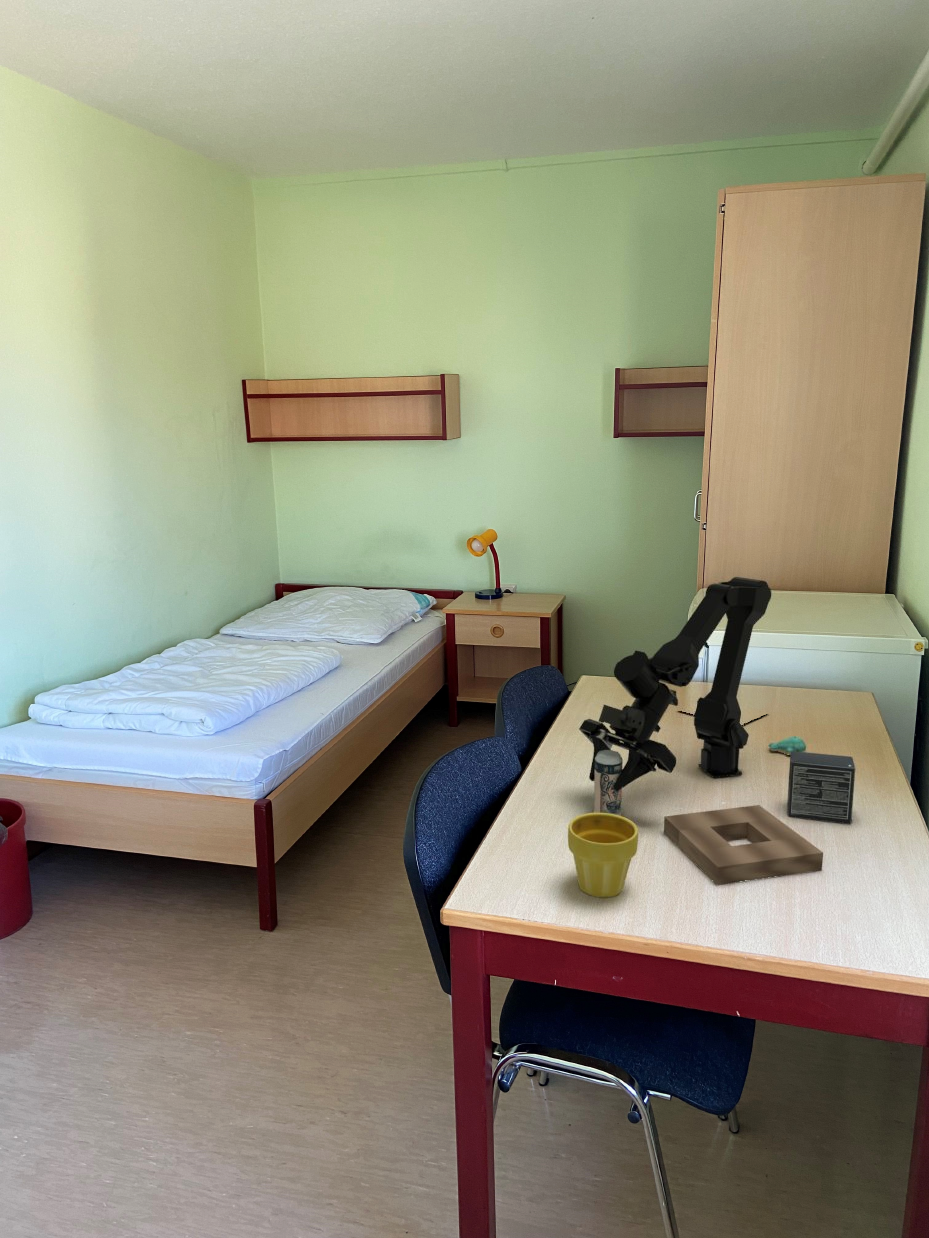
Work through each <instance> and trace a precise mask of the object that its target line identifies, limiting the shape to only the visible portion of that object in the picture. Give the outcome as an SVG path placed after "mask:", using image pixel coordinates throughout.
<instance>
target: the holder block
mask: <svg viewBox="0 0 929 1238" xmlns="http://www.w3.org/2000/svg"><path fill="white" fill-rule="evenodd" d="M663 834H664V835H666V837H668V839H670V840H671V842H672V843H673V844H675V846H677V847H678V849H679V850H680V851H682V852H683V853H684V854H685V855H686V857H688V858H689V859H690V860H691V861H692V862H693V863H694V864H695V865H696V866H697V867H698V868H699V869H700V870H701V871H702V872H703V873H704V874H705V875H706V876H707V877H708V878H709V879H710V880H711V881H712V880H713V881H712V882H713V883H714V882H715V883H714V885H716V886H721V885H728V883H729V884H734V883H735V882H736V883H741V882H740V881H743V882H746V881H745V880H750V881H756V880H755V879H757V880H762V878H764V879H769V878H768V877H771V878H776V877H775V876H778V877H784V876H791V875H792V876H793V875H798V874H799V875H800V874H804V873H805V874H806V873H813V872H821V871H823V860H824V851H822V850H820V849H819V848H818V847H817V846H815V845H814V844H812V843H811V842H810V841H809V840H807V839H806V838H805V837H803V836H801V835H800V834H799V833H797V832H796V831H795V830H794V829H792V828H791V827H789V825H787V824H786V823H784V822H783V821H781V820H780V819H779V818H777V817H776V816H775V815H774V814H772V813H771V812H770V811H768V809H765V808H764V807H762V806H761V805H760V804H756V805H755V804H754V805H747V806H738V807H730V808H723V809H714V810H707V811H698V812H689V813H682V814H673V815H665V816H664V818H663ZM745 839H747V841H749V842H750V843H744V844H737V845H731V844H730V843H729V841H737V840H745Z"/></svg>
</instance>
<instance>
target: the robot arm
mask: <svg viewBox="0 0 929 1238" xmlns="http://www.w3.org/2000/svg"><path fill="white" fill-rule="evenodd" d="M771 599H772V589H771V588H770V587H769V584H768V582H767V581H766V580H763V579H756V578H746V577H741V576H734V577H732V578H731V579H730V580H727V581H719V582H717V583H711V584H709V585H708V586H707V588H706V590H705V595H704V596H703V598H702V600H701V601H700V602H699V604H698V606H697V607H696V609H694V611H693V613H692V614H691V616H690V617H689V618H688V620H687V621H686V623H685V624H684V625H683V627H682V629H681V630H680V632H679V634H677V636H675V638H673V639H671V640H669V641H667V642H665V643H663V645H662V646H661V647H660V648H659V649H658V650H657V651H656V652H655V653H654V655H652V657H650V658H649V656H648V655H647V654H646V652H645V651H641V650H637V649H635V650H634V652H633V654H631V655H627V656H625V657H623V658H622V659H621V660H620V661H617V663H616V664H615V666H614V668H613V675H614V677H615V679H616V680H617V681H618V683H620V685H621V686H622V687H623V688H624V689H625V691H626V693H628V694H629V696H631V697H632V698H634V700H633V702H632V703H631V705H627V704H626V705H624V706H623V708H622V709H620V708H615V707H613V706H609V705H608V704H603V706H602V710H601V713H600V715H599V718H598V721H597V720H595V719H591V718H587V719H585V720H583V722H582V723H581V725H580V727H579V728H578V730H579V731H580V732H581V733H582V734H583V735H584V737H586V738H587V739H588V740H589V742H591V744H592V745H593V753H592V754H593V756H592V760H591V761H592V762H591V766H590V770H589V771H590V772H589V776H588V779H589V780H590V781H591V782H594V779H595V757H596V756H597V753H598V752H599V751H603V750H612V748H613V746H616V747H618V748H622V749H625V750H626V751H627V750H628V756H627V761H626V763H625V765H623V767H622V771H621V773H620V775H619V777H618V778H617V780H616V782H615V784H614V787H613V789H614V790H615V791H619V790H620V789H622V790H623V788H625V787H626V786H628V785H629V784H631V783H633V782H634V781H635V780H638V779H639V778H641V777H644V776H645V775H647V774H649V773H650V772H653V773H654V772H655V773H656V771H657V768H658V770H662V771H664V772H667V773H669V774H671V773H673V772H674V769H675V767H676V765H677V758H676V756H675V754H673V752H672V751H671V750H670V749H669V748H668V746H667V745H666V744H664V743H661V742H658V741H657V740H656V741H655V740H653V739H651V737H652V735H653V734H654V732H655V733H659V732H660V730H661V726H660V725H659V723H660V722H661V720H662V718H663V716H664V714H665V713H666V711H667V710H668V707H669V706H670V705H672V706H675V707H677V706H679V699H678V697H677V690H674V689H670V688H669V686H668V685H672V686H675V687H678V688H682V687H687V686H688V685H689V684H690V683H691V682H692V680H693V679H694V676H695V674H696V673H697V670H698V668H699V666H700V660H699V659H700V656H699V655H700V653H701V652H702V650H703V648H704V646H705V645H706V643H707V642H708V640H709V638H710V637H711V636H712V635H713V633H714V631H715V630H716V628H717V627H718V625H719V624H720V623H721V621H722V619H723V618H724V617H725V616H726V618H727V619H726V620H727V621H726V626H725V629H724V635H723V638H722V642H721V643H722V644H721V646H720V647H721V648H720V651H719V655H718V660H717V663H716V668H715V672H714V677H713V681H712V684H711V689H710V691H709V692H708V693H707V694H706V695H705V696H704V697H702V696H700V697H699V698H698V699H697V702H696V703H697V707H696V711H695V713H694V715H692V717H694V718H693V725H694V729H695V735H696V737H697V739H698V740H701V741H703V746H702V747H701V750H700V763H699V764H698V768H699V769H700V770H703V772H705V773H706V774H708V775H709V776H711V778H713V779H716V778H726V777H733V776H734V777H735V776H741V775H743V771H742V770H740V769H739V761H740V759H739V758H740V750H743V749H744V746H746V745H747V744H748V739H749V735H750V734H749V733H748V732H747V731H746V729H745V728H744V725H743V726H742V725H741V724H740V719H741V709H740V706H741V705H740V704H739V700H738V698H737V696H738V692H739V687H740V682H741V679H742V675H743V670H744V666H745V662H746V658H747V655H748V650H749V647H750V646H749V645H750V640H751V638H752V634H753V628H754V625H756V624H757V623H758V621H759V620H761V618H762V617H764V615H765V614H766V611H767V608H768V606H769V602H771ZM604 723H606V724H608V725H609V728H610V729H611V731H610V730H609V728H608V727H607V726H606V725H605V724H604ZM612 731H613V732H612ZM656 767H657V768H656Z"/></svg>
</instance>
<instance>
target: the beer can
mask: <svg viewBox="0 0 929 1238" xmlns="http://www.w3.org/2000/svg"><path fill="white" fill-rule="evenodd" d="M623 763H624V762H623V758H622V756H621V753H620V752H619V751H616V750H612V749H611V750H603V751H599V752H598V753H597V756H596V757H595V779H594V781H593V782H594V785H593V786H594V787H593V789H594V791H593V792H594V795H593V813H609V814H615V815H619V816H622V799H623V798H622V797H623V796H622V795H623V794H622V793H623V788H622V789H620V790H619V791H615V790H614V789H613V787H614V784H615V782H616V780H617V778H618V777H619V775H620V773H621V771H622V770H623V766H624V765H623Z"/></svg>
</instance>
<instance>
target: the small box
mask: <svg viewBox="0 0 929 1238" xmlns="http://www.w3.org/2000/svg"><path fill="white" fill-rule="evenodd" d="M789 756H790V757H789V758H790V759H789V771H788V790H787V804H786V808H787V809H786V811H787V816H788V817H789V818H796V819H805V820H811V821H812V820H813V821H814V820H815V821H822V822H831V823H839V824H847V825H851V824H853V805H854V791H855V779H856V776H855V775H856V769H857V768H856V765H855V762H854V757H853V756H849V755H838V754H827V753H818V752H817V753H815V752H807V751H806V752H797V751H791V754H790V755H789Z"/></svg>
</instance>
